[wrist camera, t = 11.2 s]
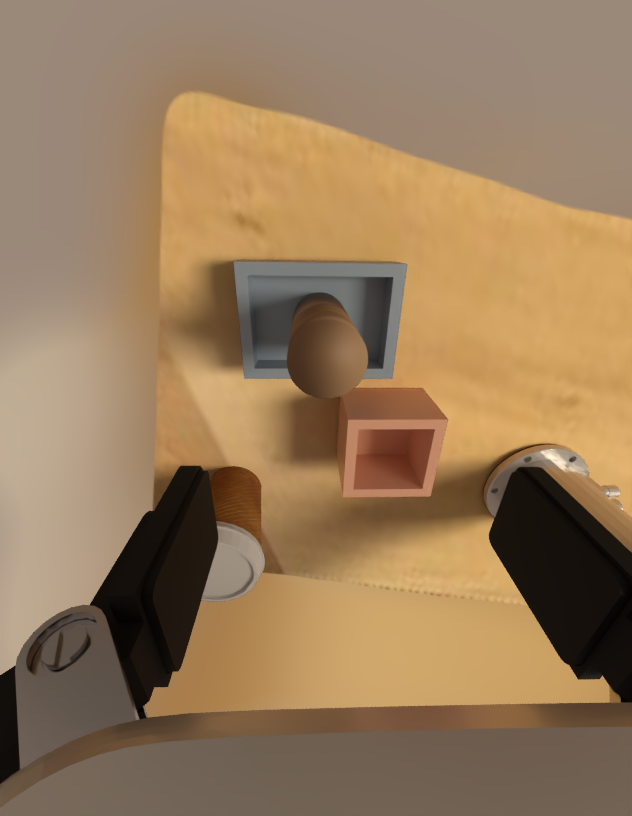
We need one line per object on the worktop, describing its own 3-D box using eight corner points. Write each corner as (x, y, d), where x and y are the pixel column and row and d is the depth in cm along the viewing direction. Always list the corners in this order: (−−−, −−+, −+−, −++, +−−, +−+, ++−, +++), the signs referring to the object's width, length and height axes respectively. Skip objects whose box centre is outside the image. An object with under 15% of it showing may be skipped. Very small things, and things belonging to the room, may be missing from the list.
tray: (396, 261, 29) (407, 263, 26) (384, 366, 34) (392, 378, 31) (241, 259, 29) (233, 261, 26) (250, 365, 33) (244, 378, 30)
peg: (347, 292, 29) (371, 320, 19) (344, 346, 32) (364, 398, 21) (292, 291, 29) (285, 320, 19) (293, 345, 32) (287, 398, 21)
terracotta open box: (422, 388, 35) (448, 419, 29) (410, 456, 39) (430, 496, 33) (340, 388, 35) (348, 419, 29) (336, 456, 39) (342, 497, 33)
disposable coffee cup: (197, 450, 38) (156, 531, 27) (278, 460, 39) (268, 543, 28) (196, 510, 42) (160, 600, 32) (269, 518, 43) (257, 608, 33)
